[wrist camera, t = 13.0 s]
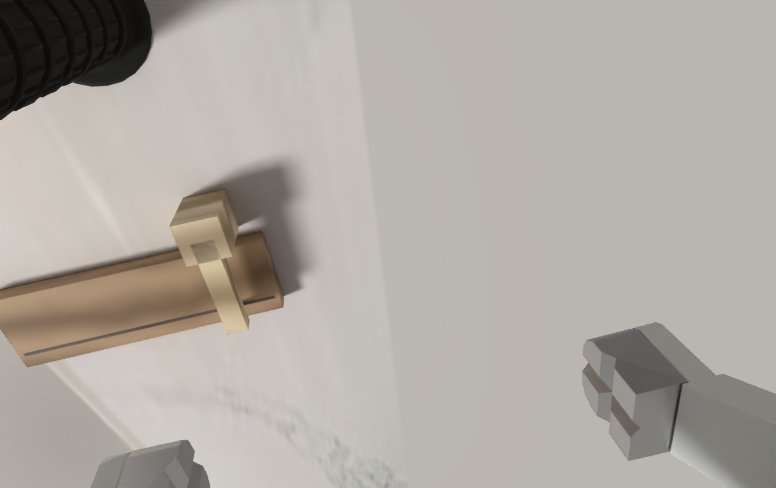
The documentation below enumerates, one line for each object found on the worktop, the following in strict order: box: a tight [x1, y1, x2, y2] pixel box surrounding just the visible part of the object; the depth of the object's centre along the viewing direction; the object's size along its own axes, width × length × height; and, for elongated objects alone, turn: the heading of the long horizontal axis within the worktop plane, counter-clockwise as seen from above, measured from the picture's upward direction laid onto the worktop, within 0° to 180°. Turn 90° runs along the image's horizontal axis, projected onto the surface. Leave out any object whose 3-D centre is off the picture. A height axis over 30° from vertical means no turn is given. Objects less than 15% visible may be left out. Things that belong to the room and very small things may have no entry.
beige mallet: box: [170, 189, 249, 335], centre depth 48 cm, size 12×4×6 cm, turn 9°
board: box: [0, 232, 284, 367], centre depth 50 cm, size 8×26×2 cm, turn 100°
